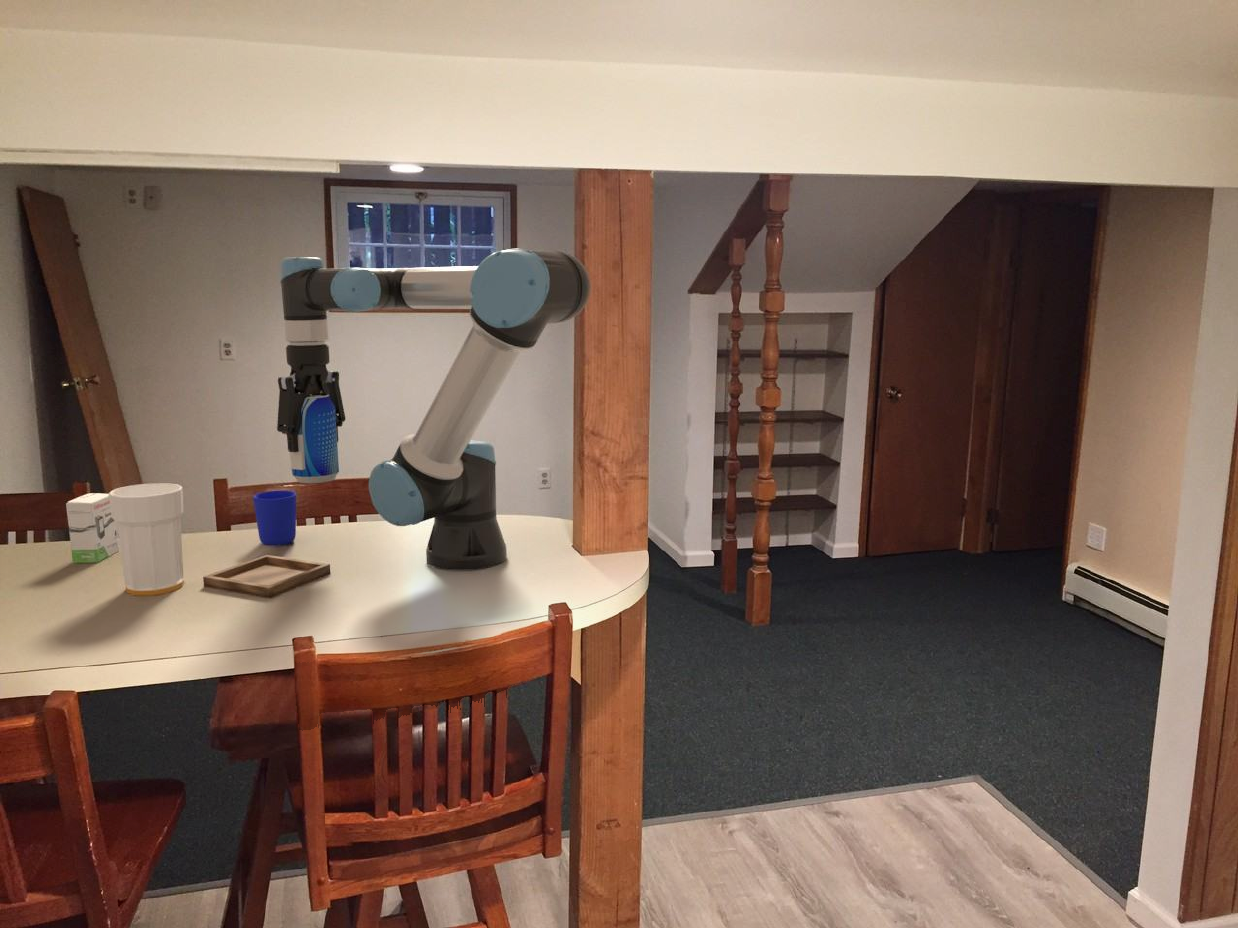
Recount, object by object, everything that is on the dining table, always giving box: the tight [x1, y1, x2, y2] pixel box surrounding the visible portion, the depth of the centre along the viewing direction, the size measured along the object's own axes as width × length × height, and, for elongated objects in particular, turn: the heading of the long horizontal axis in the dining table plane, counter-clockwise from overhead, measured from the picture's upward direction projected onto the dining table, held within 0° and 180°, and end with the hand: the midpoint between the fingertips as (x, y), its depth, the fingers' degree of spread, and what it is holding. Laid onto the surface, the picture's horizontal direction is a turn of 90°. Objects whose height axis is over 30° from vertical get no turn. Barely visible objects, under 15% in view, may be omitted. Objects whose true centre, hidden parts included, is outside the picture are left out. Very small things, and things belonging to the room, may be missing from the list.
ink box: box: [65, 492, 120, 564], centre depth 187 cm, size 9×5×12 cm, turn 0°
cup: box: [108, 482, 185, 597], centre depth 168 cm, size 11×11×17 cm
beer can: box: [291, 394, 340, 484], centre depth 182 cm, size 8×8×16 cm
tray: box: [202, 554, 331, 599], centre depth 173 cm, size 15×15×2 cm
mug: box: [252, 490, 297, 547], centre depth 199 cm, size 8×12×10 cm
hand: (315, 464), depth 183 cm, fingers closed on beer can, 8 cm apart
